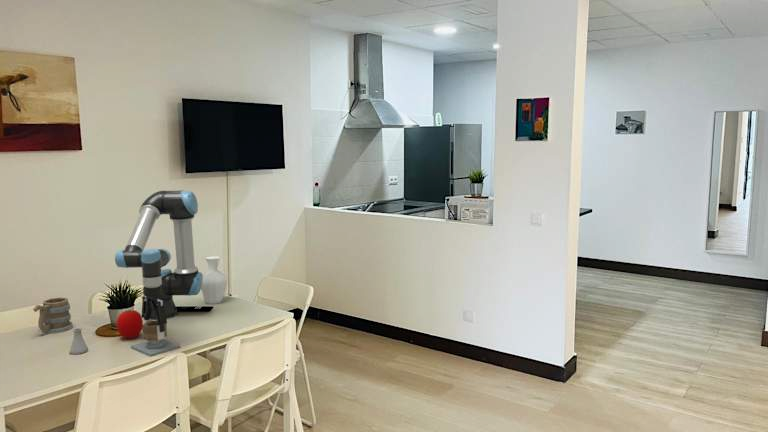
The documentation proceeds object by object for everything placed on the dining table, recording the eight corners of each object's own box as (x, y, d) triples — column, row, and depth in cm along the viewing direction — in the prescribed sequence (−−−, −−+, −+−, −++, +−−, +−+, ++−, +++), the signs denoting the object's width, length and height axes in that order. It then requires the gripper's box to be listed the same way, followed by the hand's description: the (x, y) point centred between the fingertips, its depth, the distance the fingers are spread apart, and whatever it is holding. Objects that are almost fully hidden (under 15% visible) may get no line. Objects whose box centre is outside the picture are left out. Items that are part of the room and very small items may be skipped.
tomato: (140, 341, 261) (138, 313, 259) (114, 342, 259) (112, 314, 258) (146, 332, 272) (144, 306, 270) (121, 334, 270) (120, 307, 269)
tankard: (56, 323, 285) (53, 294, 283) (78, 325, 282) (76, 295, 280) (23, 337, 265) (20, 305, 263) (47, 339, 263) (44, 307, 261)
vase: (212, 306, 314) (211, 261, 311) (195, 302, 322) (193, 258, 318) (233, 300, 326) (231, 256, 322) (215, 296, 334) (214, 254, 330)
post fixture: (130, 348, 252) (129, 326, 251) (160, 339, 263) (159, 319, 262) (150, 356, 242) (149, 334, 241) (180, 347, 253) (179, 326, 252)
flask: (75, 348, 252) (73, 326, 250) (91, 348, 251) (90, 326, 250) (65, 354, 244) (64, 331, 243) (82, 355, 244) (81, 332, 243)
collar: (139, 337, 251) (139, 324, 251) (159, 332, 258) (158, 319, 258) (151, 342, 246) (150, 328, 245) (170, 336, 253) (169, 323, 252)
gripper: (131, 283, 253) (133, 333, 256) (158, 291, 239) (160, 344, 242) (147, 280, 259) (149, 329, 262) (174, 288, 245) (176, 339, 248)
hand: (154, 336), depth 252 cm, fingers closed on collar, 9 cm apart
